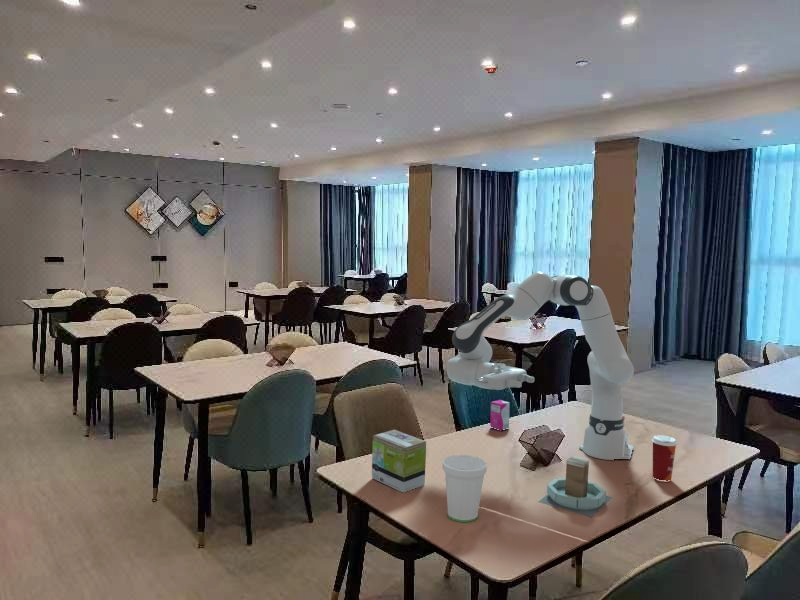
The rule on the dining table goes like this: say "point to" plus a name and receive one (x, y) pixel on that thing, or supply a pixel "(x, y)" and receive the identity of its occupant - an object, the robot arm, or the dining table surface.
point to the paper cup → (663, 456)
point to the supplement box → (499, 414)
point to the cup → (463, 486)
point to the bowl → (588, 503)
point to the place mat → (583, 512)
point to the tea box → (399, 460)
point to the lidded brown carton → (576, 477)
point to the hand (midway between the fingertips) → (527, 382)
